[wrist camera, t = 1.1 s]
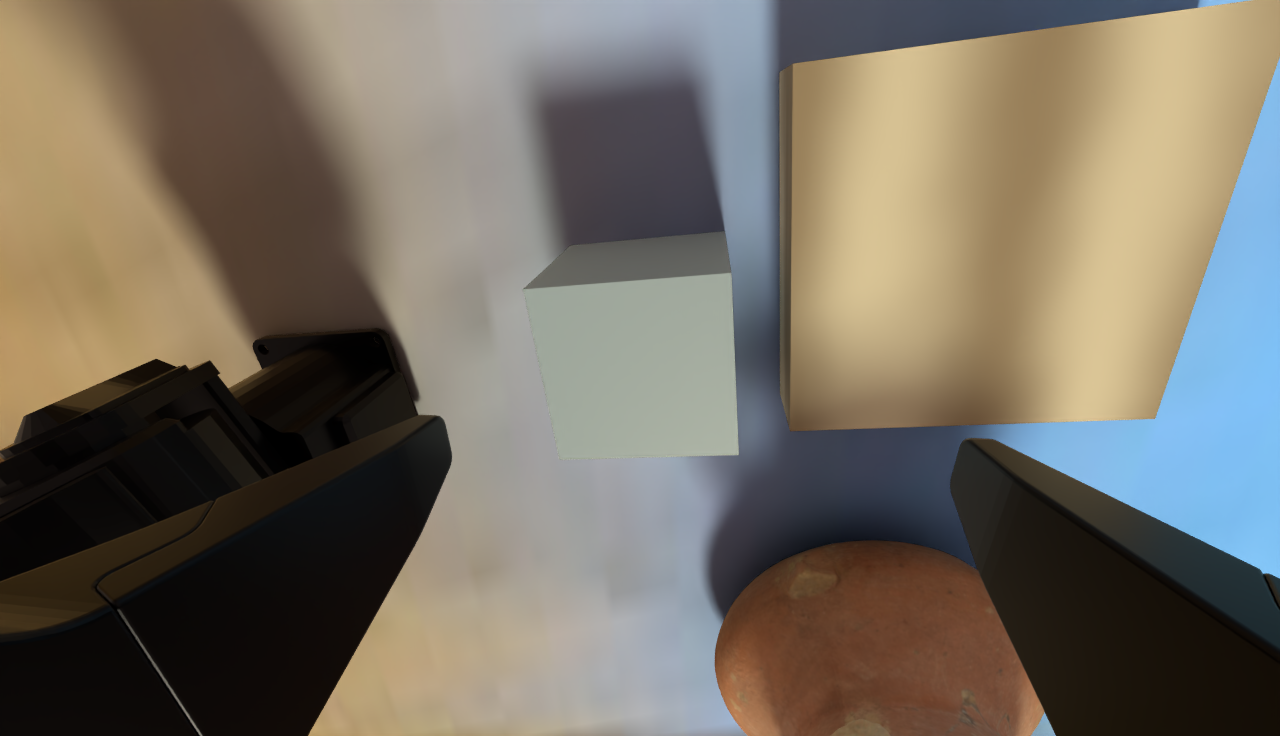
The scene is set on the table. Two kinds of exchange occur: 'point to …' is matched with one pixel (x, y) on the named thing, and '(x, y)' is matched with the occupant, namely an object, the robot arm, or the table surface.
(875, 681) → the ceramic jug
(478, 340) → the table surface
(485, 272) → the table surface
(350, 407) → the robot arm
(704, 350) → the gray cube
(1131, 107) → the birch board
